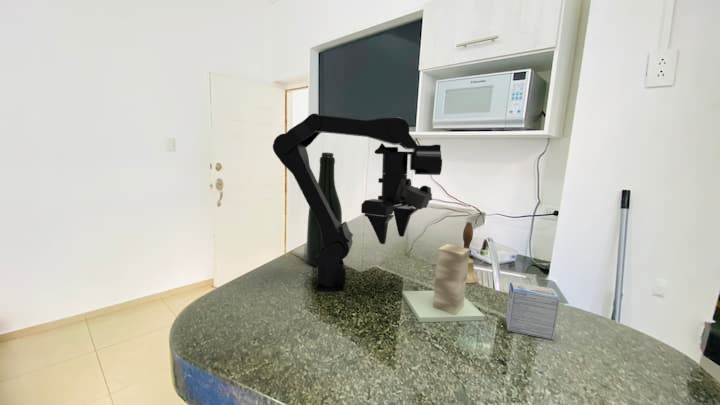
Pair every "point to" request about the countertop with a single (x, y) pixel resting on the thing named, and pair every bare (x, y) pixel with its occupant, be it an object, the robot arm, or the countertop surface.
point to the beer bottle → (332, 198)
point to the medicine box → (532, 310)
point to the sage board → (426, 313)
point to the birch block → (451, 278)
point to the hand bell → (470, 273)
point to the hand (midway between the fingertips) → (392, 239)
